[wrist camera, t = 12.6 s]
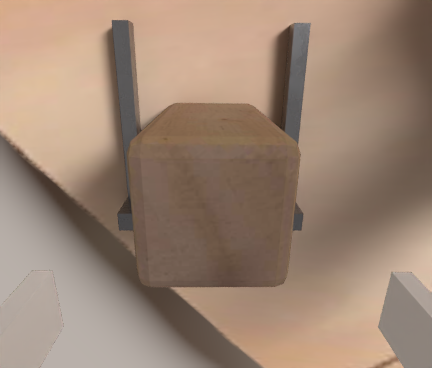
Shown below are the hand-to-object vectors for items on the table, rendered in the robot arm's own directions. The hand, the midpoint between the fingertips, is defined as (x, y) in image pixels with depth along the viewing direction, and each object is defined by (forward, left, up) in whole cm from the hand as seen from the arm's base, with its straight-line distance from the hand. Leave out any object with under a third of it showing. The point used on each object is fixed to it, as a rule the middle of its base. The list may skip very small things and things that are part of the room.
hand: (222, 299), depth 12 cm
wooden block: (0, 0, -27) cm, 27 cm away
